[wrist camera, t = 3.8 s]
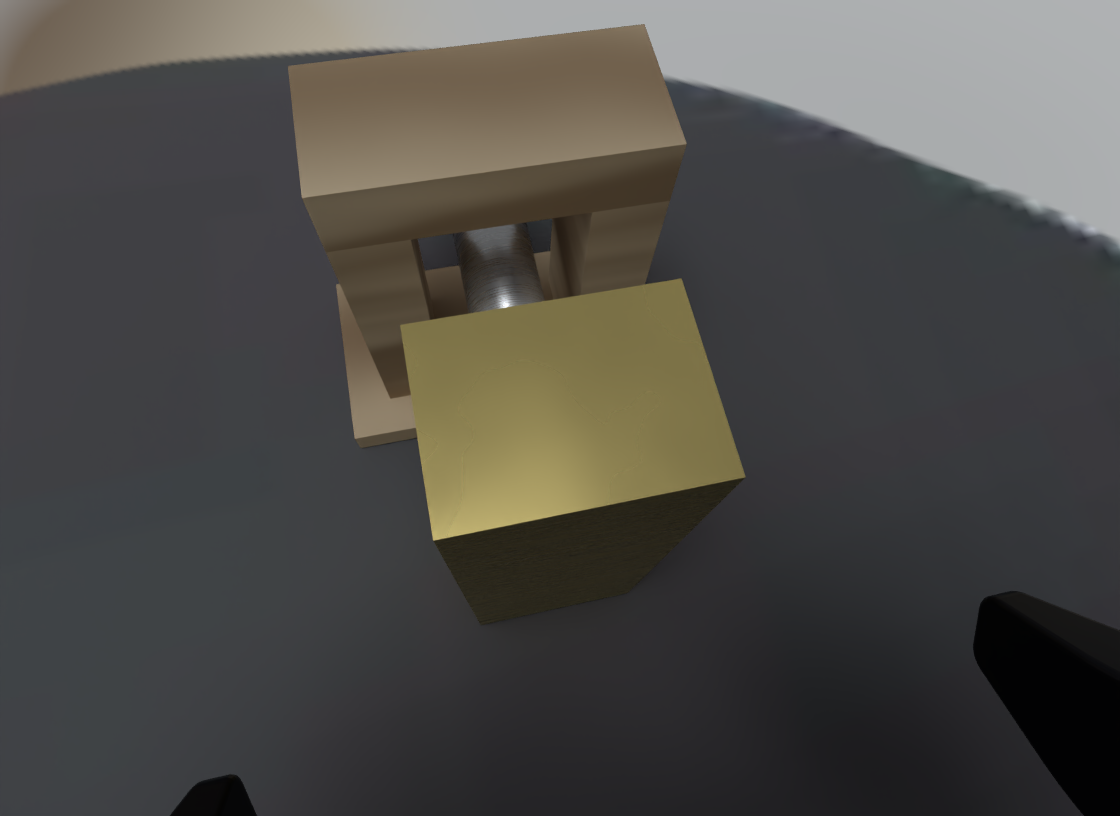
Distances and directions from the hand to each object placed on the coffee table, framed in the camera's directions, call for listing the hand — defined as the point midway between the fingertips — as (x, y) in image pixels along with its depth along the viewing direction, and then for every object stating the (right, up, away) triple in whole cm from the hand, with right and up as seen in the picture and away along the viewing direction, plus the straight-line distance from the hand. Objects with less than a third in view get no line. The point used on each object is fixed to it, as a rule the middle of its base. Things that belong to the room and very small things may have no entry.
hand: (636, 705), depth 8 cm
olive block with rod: (-2, +4, +13) cm, 14 cm away
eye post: (-3, +5, +13) cm, 15 cm away
